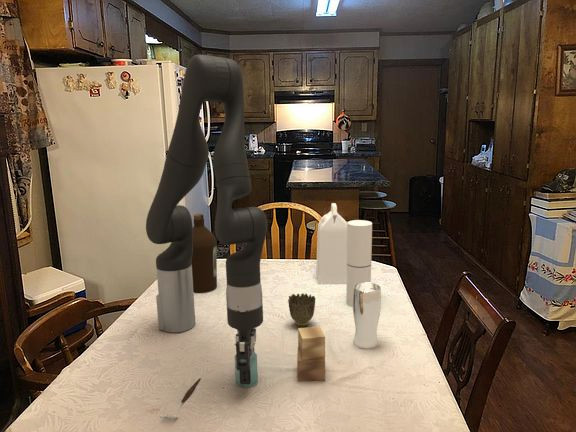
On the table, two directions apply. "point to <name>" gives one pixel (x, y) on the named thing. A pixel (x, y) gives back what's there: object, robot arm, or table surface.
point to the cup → (301, 308)
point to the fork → (183, 400)
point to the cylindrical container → (358, 255)
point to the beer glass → (366, 314)
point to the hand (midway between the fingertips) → (247, 372)
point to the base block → (310, 369)
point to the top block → (311, 343)
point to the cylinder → (252, 368)
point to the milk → (332, 248)
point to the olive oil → (203, 257)
